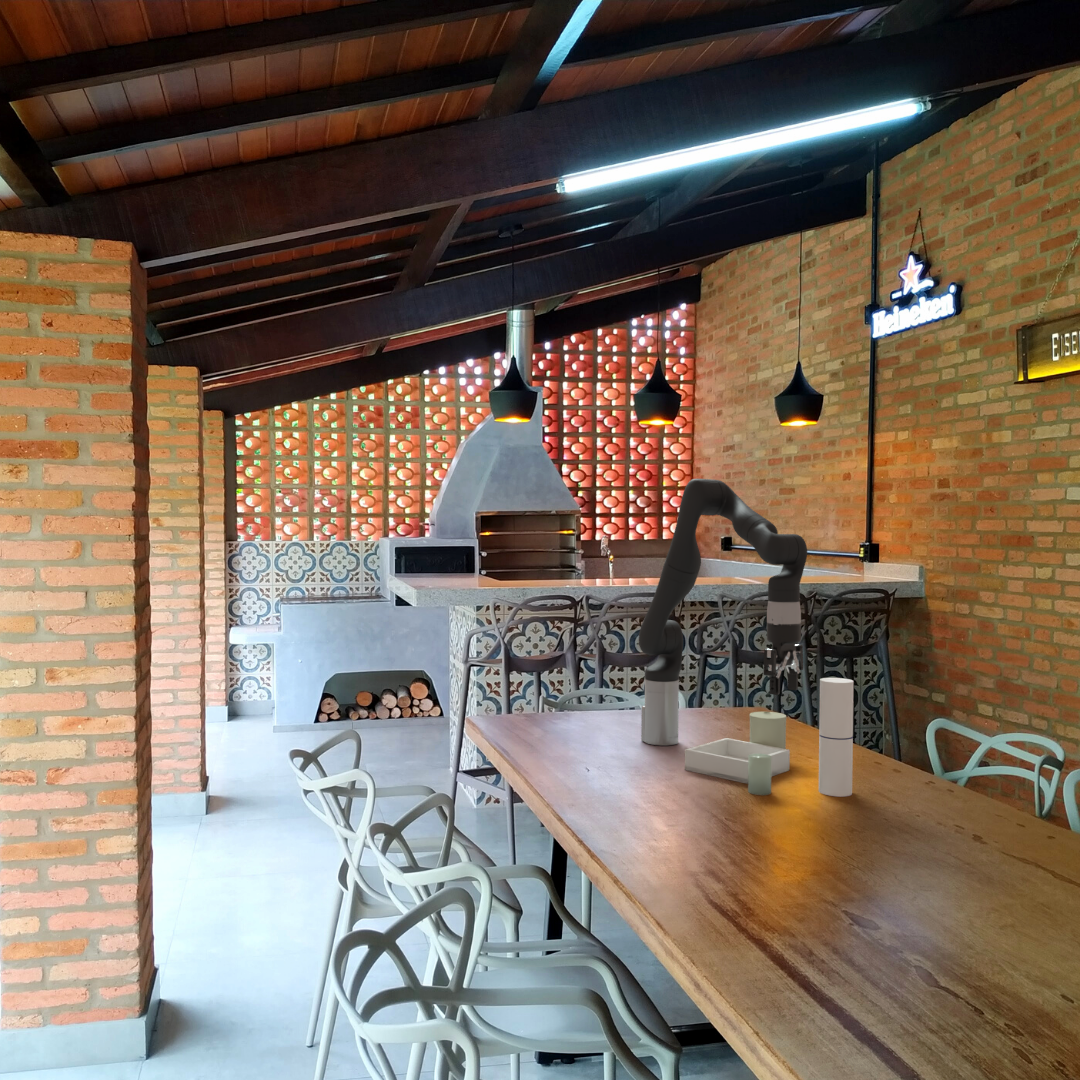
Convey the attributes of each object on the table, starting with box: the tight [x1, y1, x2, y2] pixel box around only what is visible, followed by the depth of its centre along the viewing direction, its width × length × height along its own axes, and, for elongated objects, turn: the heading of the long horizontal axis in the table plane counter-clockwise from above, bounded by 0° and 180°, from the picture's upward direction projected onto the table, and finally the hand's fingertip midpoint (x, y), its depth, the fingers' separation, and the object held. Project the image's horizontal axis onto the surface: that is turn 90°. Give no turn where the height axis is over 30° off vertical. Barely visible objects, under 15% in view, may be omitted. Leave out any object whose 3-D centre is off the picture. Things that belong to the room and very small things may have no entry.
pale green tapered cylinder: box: [747, 754, 772, 796], centre depth 215 cm, size 5×5×8 cm
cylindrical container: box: [818, 677, 854, 798], centre depth 215 cm, size 7×7×25 cm
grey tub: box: [684, 737, 791, 785], centre depth 234 cm, size 18×18×5 cm
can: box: [749, 711, 787, 749], centre depth 244 cm, size 9×9×12 cm
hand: (783, 692), depth 221 cm, fingers open, 8 cm apart
